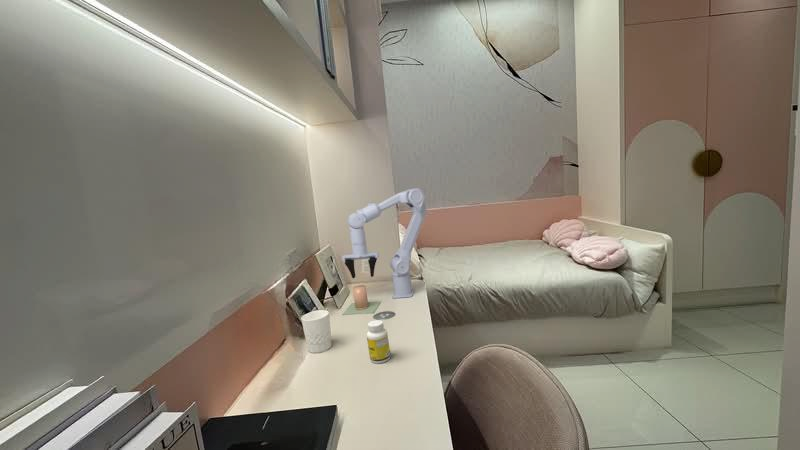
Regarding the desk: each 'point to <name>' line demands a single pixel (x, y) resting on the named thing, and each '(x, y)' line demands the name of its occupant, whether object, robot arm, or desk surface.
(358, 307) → the terracotta cup
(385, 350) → the supplement bottle
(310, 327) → the white cup
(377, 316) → the coaster
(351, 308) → the mat
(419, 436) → the desk surface
